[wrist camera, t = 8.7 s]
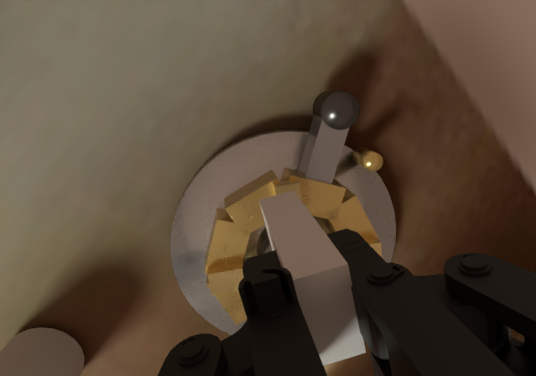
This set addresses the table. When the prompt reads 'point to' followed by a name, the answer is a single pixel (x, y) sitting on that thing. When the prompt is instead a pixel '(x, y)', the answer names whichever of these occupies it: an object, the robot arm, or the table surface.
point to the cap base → (235, 177)
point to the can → (42, 354)
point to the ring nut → (301, 181)
